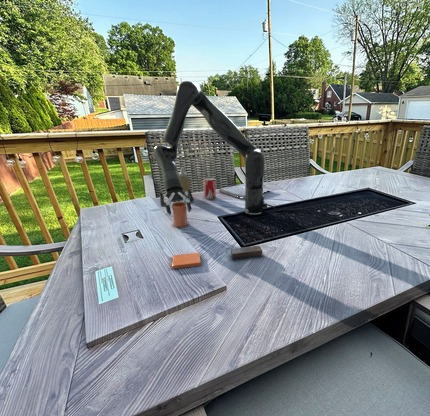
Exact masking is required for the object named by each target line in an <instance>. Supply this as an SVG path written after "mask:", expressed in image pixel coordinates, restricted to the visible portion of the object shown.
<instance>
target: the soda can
mask: <svg viewBox="0 0 430 416" xmlns="http://www.w3.org/2000/svg"><path fill="white" fill-rule="evenodd" d="M216 192H217V190H216V180H215V177H205V178H204V180H203V197H204V198H205V199H206V200H213V199H215V198H216V196H217V195H216V194H217V193H216Z"/></svg>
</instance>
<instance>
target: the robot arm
mask: <svg viewBox="0 0 430 416" xmlns="http://www.w3.org/2000/svg"><path fill="white" fill-rule="evenodd" d="M191 107H193V108H195V109H196V110H197V111H198V112H199V113H200V114H201V115H202V116H203V118H204V119H205V121H206V122H207V124H208V125H209V126H210V128H211V129H212V130H213V131H214V132H215V133H216V134H217V135H218V136H219V137H220V138H221V139H222V140H223V141H224V142H226V143H227V144H228V145H230V146H231V147H233V148H234V149H235V150H236V151H238V153H239V154H240V155H241V156H242V157H243V158H244V160H245V164H244V165H245V168H244V171H245V172H244V174H245V175H244V176H245V177H244V178H245V179H244V181H245V182H244V184H245V199H244V213H245V214H246V215H248V216H260V215H263V214H264V209H268V207H270V208H272V209H274V210H275V212H279V213H280V212H283V211H293V212H294V211H299V210H300V211H301V210H302V211H304V212H307V209H306V208H304V207H298V208H283V209H277V208H276V207H275V206H274V205H271V204H269V203H268V202H267V201H266V200H265V196H264V194H263V186H264V176H265V155H264V154H263V152H262V151H261V150H260V149H259V148H257V147H256V146H255V145H254V144H253V143H252V142H251V141H250V140H249V139H247V137H246V136H245V135H244V134H243V132H242V131H241V130H240V129H239V128H238V126H237V125H236V124H235V123H234V122H233V121H232V120H231V119H230V117H228V116H227V115H226V114H225V113H224V112H223V111H222V110H221V109H220V108H218V107H217V106H216V105H215V104H214V103H213V102H212V101H211V100H210V99H209V98H208V96H207V95H206V94H205V93H204V92H203V90H202V89H201V87H200V86H199V85H198V84H197V83H195V82H193V81H189V80H184V81H182V82H180V83H179V85H178V86H177V90H176V95H175V100H174V105H173V109H172V112H171V115H170V117H169V121H168V124H167V127H166V129H165V131H164V134H163V141H164V142H165V143H167V144H168V145H169V146H165V145H161V144H159V145H156V146H155V147H154V148H153V158H154V160H155V161H156V163H157V165H158V166H159V168H160V170H161V174H162V179H163V185H164V189H165V193H163V192H159V203H160V207H162V208H165V210H166V213H167V215H169V216H170V215H172V209H171V206H170V205H171V203H176V202H184V203H186V209H187V213H190V212H191V211H192V205H191V204H194V200H195V199H194V197H193V194H192V190H191V191H190V190H188V191H187V192H184V191H183V188H182V184H181V180H180V176H179V172H178V167H177V165H176V163H175V162H174V161H175V160H176V159H177V158H178V157H177V156H178V147H179V141H180V139H181V137H182V135H183V132H184V128H185V122H186V118H187V116H188V112H189V111H190V109H191ZM185 194H186V195H187V196H188V197H185V196H184V195H185ZM165 198H167V201H166V202H165V200H164V199H165ZM303 208H304V209H303Z"/></svg>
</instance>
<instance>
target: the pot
mask: <svg viewBox="0 0 430 416" xmlns="http://www.w3.org/2000/svg"><path fill="white" fill-rule="evenodd" d="M171 207H172V217H173V226H174V227H176V228H183V227H186V226H188V209H187V204H186V203H184V202H182V201H179V202H178V201H177V202H172V205H171Z"/></svg>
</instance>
